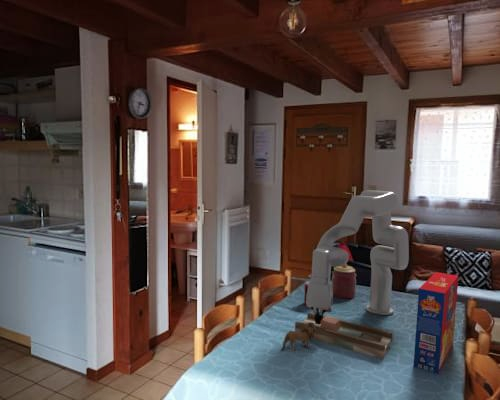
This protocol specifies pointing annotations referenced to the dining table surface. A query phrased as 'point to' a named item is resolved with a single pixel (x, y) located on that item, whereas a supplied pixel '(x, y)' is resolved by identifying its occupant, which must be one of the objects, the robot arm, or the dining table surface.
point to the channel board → (352, 337)
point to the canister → (344, 282)
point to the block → (330, 323)
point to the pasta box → (435, 321)
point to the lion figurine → (300, 336)
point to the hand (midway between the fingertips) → (318, 323)
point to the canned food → (306, 291)
